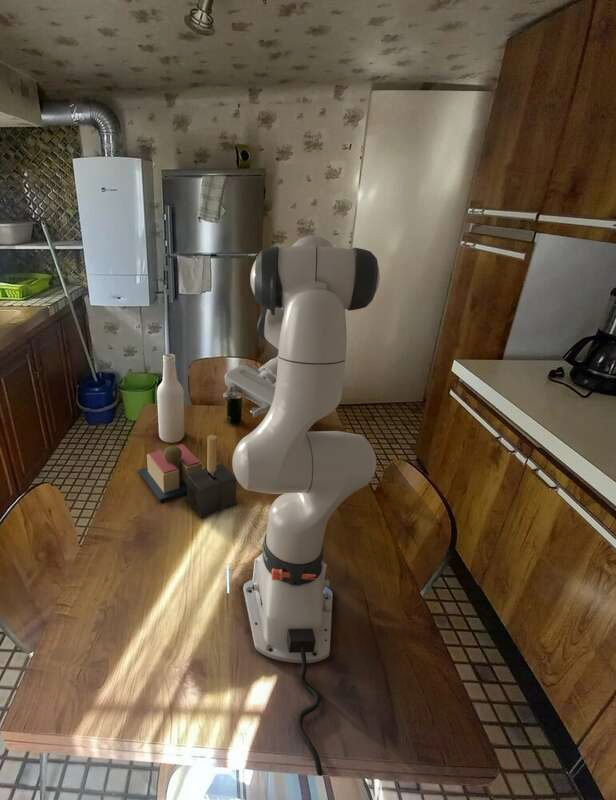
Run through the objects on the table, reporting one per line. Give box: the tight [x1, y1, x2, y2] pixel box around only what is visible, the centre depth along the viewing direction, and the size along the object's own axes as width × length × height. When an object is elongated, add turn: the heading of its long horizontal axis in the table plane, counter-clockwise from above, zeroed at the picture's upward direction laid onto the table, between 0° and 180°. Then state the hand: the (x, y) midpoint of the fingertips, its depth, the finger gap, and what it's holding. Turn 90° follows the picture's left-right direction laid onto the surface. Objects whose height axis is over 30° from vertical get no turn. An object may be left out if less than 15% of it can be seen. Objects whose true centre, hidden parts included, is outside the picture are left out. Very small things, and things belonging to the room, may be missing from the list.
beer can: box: [226, 391, 243, 426], centre depth 159 cm, size 5×5×12 cm
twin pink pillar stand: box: [138, 443, 203, 503], centre depth 128 cm, size 16×16×8 cm
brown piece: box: [163, 445, 182, 483], centre depth 126 cm, size 6×6×11 cm
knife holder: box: [186, 463, 238, 519], centre depth 118 cm, size 8×11×9 cm
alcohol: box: [156, 353, 185, 444], centre depth 145 cm, size 9×9×30 cm
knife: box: [206, 434, 218, 480], centre depth 115 cm, size 2×2×21 cm
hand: (238, 405), depth 112 cm, fingers open, 8 cm apart
